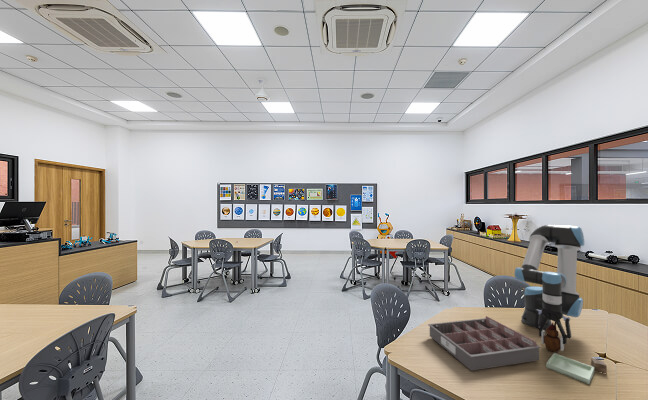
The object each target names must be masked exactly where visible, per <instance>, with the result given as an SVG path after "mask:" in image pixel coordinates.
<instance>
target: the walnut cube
mask: <svg viewBox="0 0 648 400" xmlns="http://www.w3.org/2000/svg"><path fill="white" fill-rule="evenodd" d="M590 366H592V367H595V371H596V373H599V372H602V373H601V374H603V373H606V374H605V375H608V372H607V371H608V365H607V364H606V363H605V361H604V360H600V359H595V358H591V359H590Z"/></svg>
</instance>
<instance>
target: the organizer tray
mask: <svg viewBox="0 0 648 400" xmlns="http://www.w3.org/2000/svg"><path fill="white" fill-rule="evenodd" d="M427 326H429V337H430V338H431V339H433V340H434V341H435V342H436V343H437V344H439V345H440V346H441V347H442V348H443V349H444V350H445V351H447V352H448V353H449V354H451V355H452V356H453V358H455V359H457V360H458V362H461V363H462V365H464V366H465V367H466V368H468V369H469V370H470V371H477V370H483V369H491V368H497V367H502V366H509V365H510V366H511V365H517V364H522V363H531V362H536V361H540V349H541V348H542V346H540V345H538V344H537V343H538V342H537V341H535V340H534V339H532V338H530V337H527V336H526V335H525V334H522V333H520V332H518V331H516V330H514V329H512V328H510V327H508V326H507V325H504V324H502V323H501V322H499V321H497V320H496V319H493V318H492V317H489V316H487V315H485V317H484V318H475V319H466V320H465V319H464V320H457V321H447V322H446V321H445V322H435V323H429V324H427Z"/></svg>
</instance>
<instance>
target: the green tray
mask: <svg viewBox="0 0 648 400" xmlns="http://www.w3.org/2000/svg"><path fill="white" fill-rule="evenodd" d="M545 364H546V365H545V367H546V368H547V369H550V370H552V371H555V372H557V373H560V374H561V375H565V376H566V377H569V378H572V379H573V380H577V381H578V382H579V381H580V382H581V383H583V384H587V385H590V384H591V381H592V378H593V377H594V374H595V367H592V366H591V364H590V365H589V364H587V363H583V362H581V361H578V360H575V359H573V358H569V357H567V356H564V355H562V354H561V355H560V354H558V353H557V352H553V354H552V355H551V356H550V358H549V359H548V360H547V361H546V363H545Z"/></svg>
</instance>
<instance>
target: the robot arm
mask: <svg viewBox="0 0 648 400" xmlns="http://www.w3.org/2000/svg"><path fill="white" fill-rule="evenodd" d="M549 243H550V244H551V243H552V244H554V246H555V247H556V248H557V261H556V263H557V264H556V265H557V266H556V267H557V268H556V272H554V271H543V270H539V267H540V264H541V261H542V256H543V254H544V250H545V248H546V246H547V245H549ZM583 246H585V236H584V232H583V230H582V228H581V227H580V226H578V225H577V226H576V225H564V224H563V225H561V224H560V225H559V224H558V225H557V224H545V225H542V226H539V227H538V228H536V229H535V230H533V232H532V233H531V234H530V235H529V244H528V246H527V251H526V253H525V255H524V259H523V262H522V264H521V267H519V266H518V267H515V270H514V278H515V279H516V280H517V281H521V282H524V283H532V284H537V285H541V286H527V287H525V288H524V294H523V295H524V310H523V313H522V315H521V322H522V323H523V324H525V325H527V326H529V327H532V328H534V329H537V330H538V335H539V337H541V345H545V343H544V336H545V335H546V329H547V328H549V326H550V325H552V322H554V323H555V322H556V327H557V328H558V330H559V333H560V334H561V336H560V340H561V349H560V351H562V352H564V349H565V345H567V339H571V338H572V330H571V325H570V321H571V318H570V317H572V318H578V317H579V316H581V313H582V310H583V304H584V299H583V297H580V294H579V292H577V268H578V266H577V263H578V260H577V259H578V251H579V250H581V248H582V247H583ZM562 319H563V321H564V325H565V329H564V327H563V325H562V322H561V321H562ZM565 331H566V332H565Z"/></svg>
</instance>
